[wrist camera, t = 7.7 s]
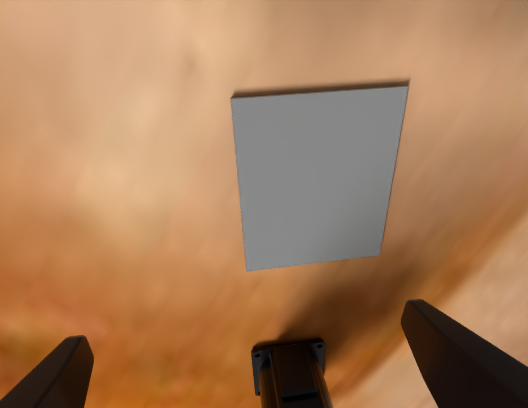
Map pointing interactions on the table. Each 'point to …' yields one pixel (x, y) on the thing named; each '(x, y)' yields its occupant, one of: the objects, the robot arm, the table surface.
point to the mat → (315, 173)
